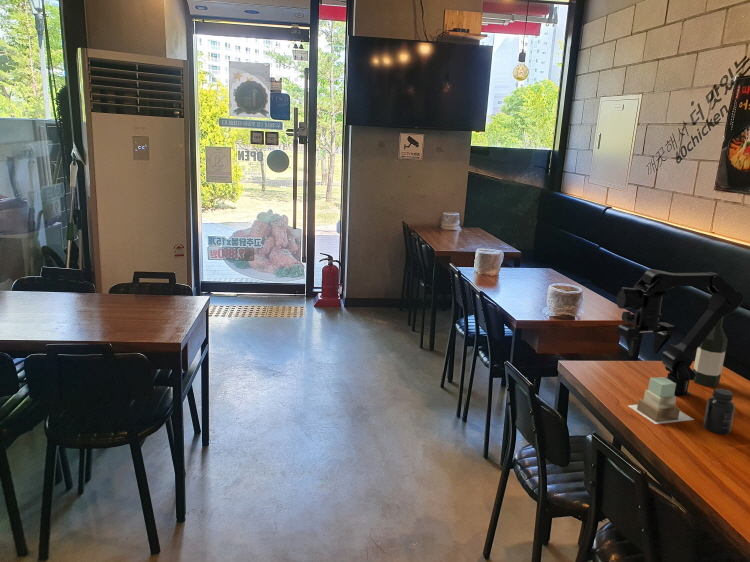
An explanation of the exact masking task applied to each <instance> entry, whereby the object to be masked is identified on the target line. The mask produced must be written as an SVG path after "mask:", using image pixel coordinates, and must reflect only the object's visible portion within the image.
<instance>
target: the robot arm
mask: <svg viewBox="0 0 750 562" xmlns="http://www.w3.org/2000/svg"><path fill="white" fill-rule="evenodd" d="M677 287H707V289H708V291H709V292H710V293H711V296H710V298H709V302H708V307H707V309H706V310H705V311H704V313H703V314H702V316H700V317H699V319H698V320H697V322H696V323H695V324H694V325H693V327H692V328H691V329H690V331H689V332H688V333H687V334H686V336H684V338H683V339H682V341H681V342H679V343H678V344H676V345H674V344H673V343H670V344H669V345H668V347H667V348H666V350H664V351H662V357H661V361H662V365H664V368H665V371H667V372H668V373H667V377H666V378H667V379H668V380H670V381H672V382H674V383H676V387H675V393H674V396H676V397H682V396H691V395H692V393H691V392H689V385H690V381H693V379H694V378H695V376H696V374H695V373H694V372H693V368H691V366H692V364H693V362H694V356H695V353H696V352H697V348H698V347H699V346H700V345H701V344H702V342H703V341H704V340H705V339H706V337H707V336H708V335H709V334H710V332H711V331H712V330H713V329H714V327H715V326H716V325H717V324H718V322H719V321H720V320H721V319H722V318H723V317H724V318H725V316H728V315H730V314H732V313H734V312H735V311H736V310H737V309H738V308H740V307H741V305H742V304H743V302H744V296H743V294H742V293H741V292H740V291H739V290H735V288H734V287H733V286H731V285H730V284H729V283H728V282H727V281H726V280H725V279H724V278H723V277H722V276H721V275H719V274H718V273H715V272H712V271H708V272H669V271H664V270H658V269H653V268H650V269H648V270H646V271H645V272H644V273H643V274H642V276H641V278H640V279H639V280H638V281H637V282H636V283H635V284H634V285H633V287H626V286H622V287H621V290H620V291H619V292H618V293H617V295H616V305H617V307H618V308H619V309H621V310H622V309H623V310H625V309H626V310H627V309H628V311H622V314H621V320H622V322H625V323H626V324H624V323H623V324H618V326H617V327H616V333H617V334H619V335H620V336H621V337H623V338H624V339H625V342H626V346H627V351H628V355H629V356H630V357H633V356H634V354H635V351H636V348H637V347H638V345H639V340H640V339H639V338H638V337H639V336H640V334H646V333H647V334H649V333H653V336H654V339H653V340H654V341H653V347H652V353H653V355H657V354H658V353H659V352H660V350H661V349H662V348H663V347H664V345H666V343H667V342H668V341H669V340H670V339H672V338H673V336H676V335H677V330H678V329H677V327H676V326H675V325H673V324H670V323H668V322H666V321H665V322H661V321H660V318H663V314H662V313H661V309H662V308H661V307H662V303H663V302H662V301H663V298H670V296H671V295H670V294H669V293H668V292H667V290H671V289H673V288H677ZM629 310H636V312H635V313H631V311H629ZM724 318H723V319H724ZM659 321H660V322H659ZM631 324H632V325H631Z"/></svg>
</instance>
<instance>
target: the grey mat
mask: <svg viewBox="0 0 750 562" xmlns="http://www.w3.org/2000/svg"><path fill="white" fill-rule="evenodd" d="M637 405H638V403H637V404H629V405H627V406H628V407H629V408H630V409H632V410H634V412H636V413H638V414H640V415H641V416H642V417H644V418H645V419H647V420H649V422H651V423H653V424H654V425H659V424H669V423H670V424H671V423H677V422H678V423H679V422H686V421H694V420H695V419H694V418H692V417H690V416H689V415H687V414H686V413H684V412H683V411H681V410H680V412H679V417H678V420H670V421H661V422H655V421H653V420H652V419H650V418H649V417H647V416H646V415H644V414H643V413H641V412H640V411H638V410H637Z"/></svg>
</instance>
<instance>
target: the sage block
mask: <svg viewBox="0 0 750 562" xmlns="http://www.w3.org/2000/svg"><path fill="white" fill-rule="evenodd" d="M647 387H648V388H647V390H648V391H650V392H652V393H653V394H655V395H657V396H658V397H671V396H674V393H675V387H676V383H674V382H672V381H670V380H668V379H667V377H664V376H661V377H660V376H659V377H650V378H649V382H648V386H647Z"/></svg>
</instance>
